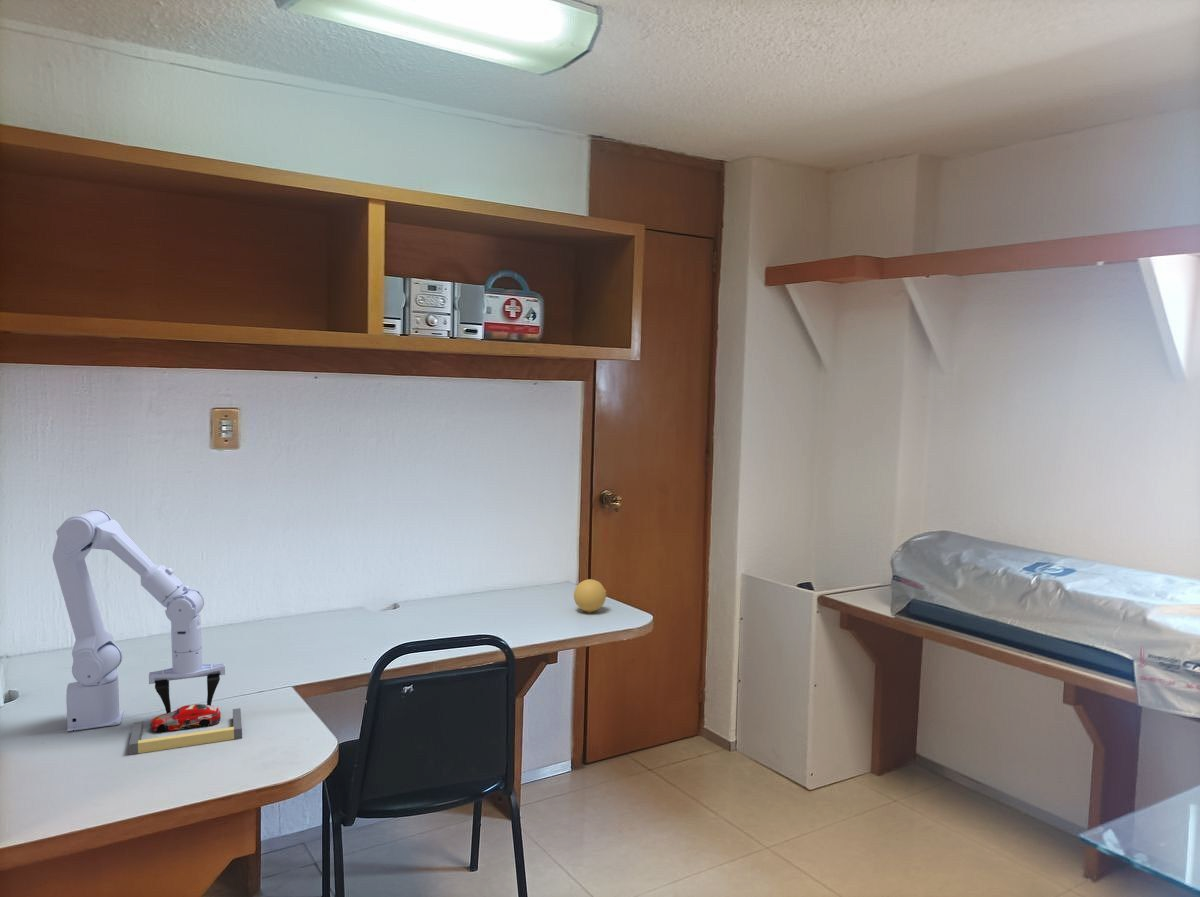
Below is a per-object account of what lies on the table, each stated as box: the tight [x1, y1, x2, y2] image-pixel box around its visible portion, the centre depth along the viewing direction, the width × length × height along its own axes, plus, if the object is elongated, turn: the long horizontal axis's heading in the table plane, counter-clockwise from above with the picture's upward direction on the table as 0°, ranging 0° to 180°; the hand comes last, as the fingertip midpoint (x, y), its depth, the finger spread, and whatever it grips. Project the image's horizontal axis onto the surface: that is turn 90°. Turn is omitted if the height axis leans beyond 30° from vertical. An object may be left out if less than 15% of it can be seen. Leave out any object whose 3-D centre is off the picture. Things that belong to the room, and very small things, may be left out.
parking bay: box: [128, 707, 243, 755], centre depth 177 cm, size 20×12×2 cm, turn 114°
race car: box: [149, 703, 222, 734], centre depth 182 cm, size 13×5×4 cm, turn 111°
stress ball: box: [573, 578, 607, 614], centre depth 270 cm, size 10×10×10 cm
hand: (189, 711), depth 186 cm, fingers open, 7 cm apart
